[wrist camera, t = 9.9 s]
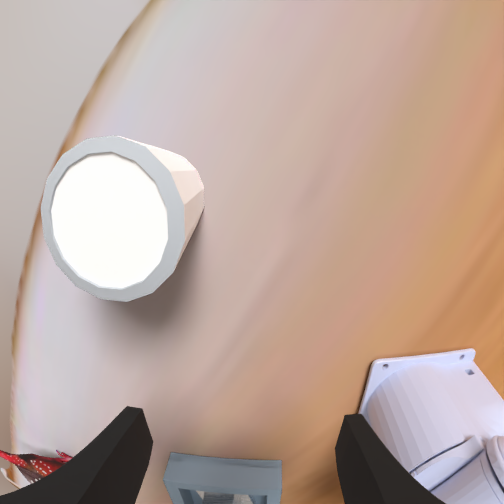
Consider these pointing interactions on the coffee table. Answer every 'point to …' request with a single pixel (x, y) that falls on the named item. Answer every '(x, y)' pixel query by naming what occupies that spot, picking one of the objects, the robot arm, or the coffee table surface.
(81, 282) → the off-white tapered cylinder
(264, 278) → the coffee table surface
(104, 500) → the robot arm
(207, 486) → the slate well
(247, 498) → the grey t-shaped bar
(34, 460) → the decorative bird figurine
